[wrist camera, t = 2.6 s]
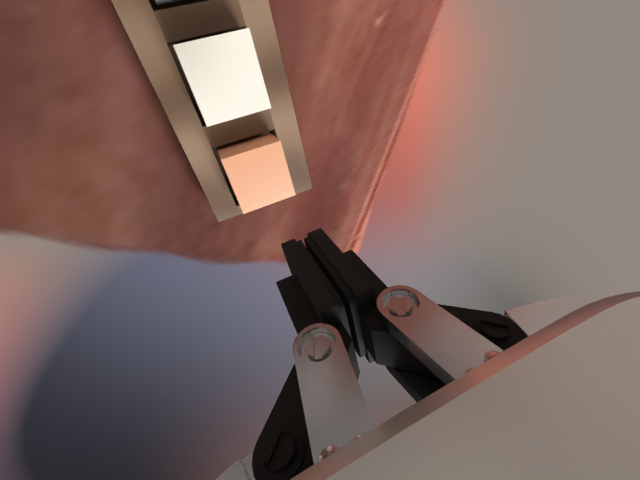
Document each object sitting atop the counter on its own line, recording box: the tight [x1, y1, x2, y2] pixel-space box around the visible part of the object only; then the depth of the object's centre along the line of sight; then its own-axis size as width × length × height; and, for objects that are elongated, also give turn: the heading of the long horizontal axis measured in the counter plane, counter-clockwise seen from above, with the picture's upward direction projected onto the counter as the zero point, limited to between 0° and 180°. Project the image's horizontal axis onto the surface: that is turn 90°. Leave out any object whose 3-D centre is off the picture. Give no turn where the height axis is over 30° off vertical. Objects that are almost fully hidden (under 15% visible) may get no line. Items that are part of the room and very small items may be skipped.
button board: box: [111, 0, 312, 222], centre depth 19 cm, size 18×8×3 cm, turn 12°
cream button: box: [173, 28, 271, 127], centre depth 17 cm, size 4×4×3 cm
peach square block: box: [217, 133, 296, 214], centre depth 20 cm, size 4×4×3 cm
